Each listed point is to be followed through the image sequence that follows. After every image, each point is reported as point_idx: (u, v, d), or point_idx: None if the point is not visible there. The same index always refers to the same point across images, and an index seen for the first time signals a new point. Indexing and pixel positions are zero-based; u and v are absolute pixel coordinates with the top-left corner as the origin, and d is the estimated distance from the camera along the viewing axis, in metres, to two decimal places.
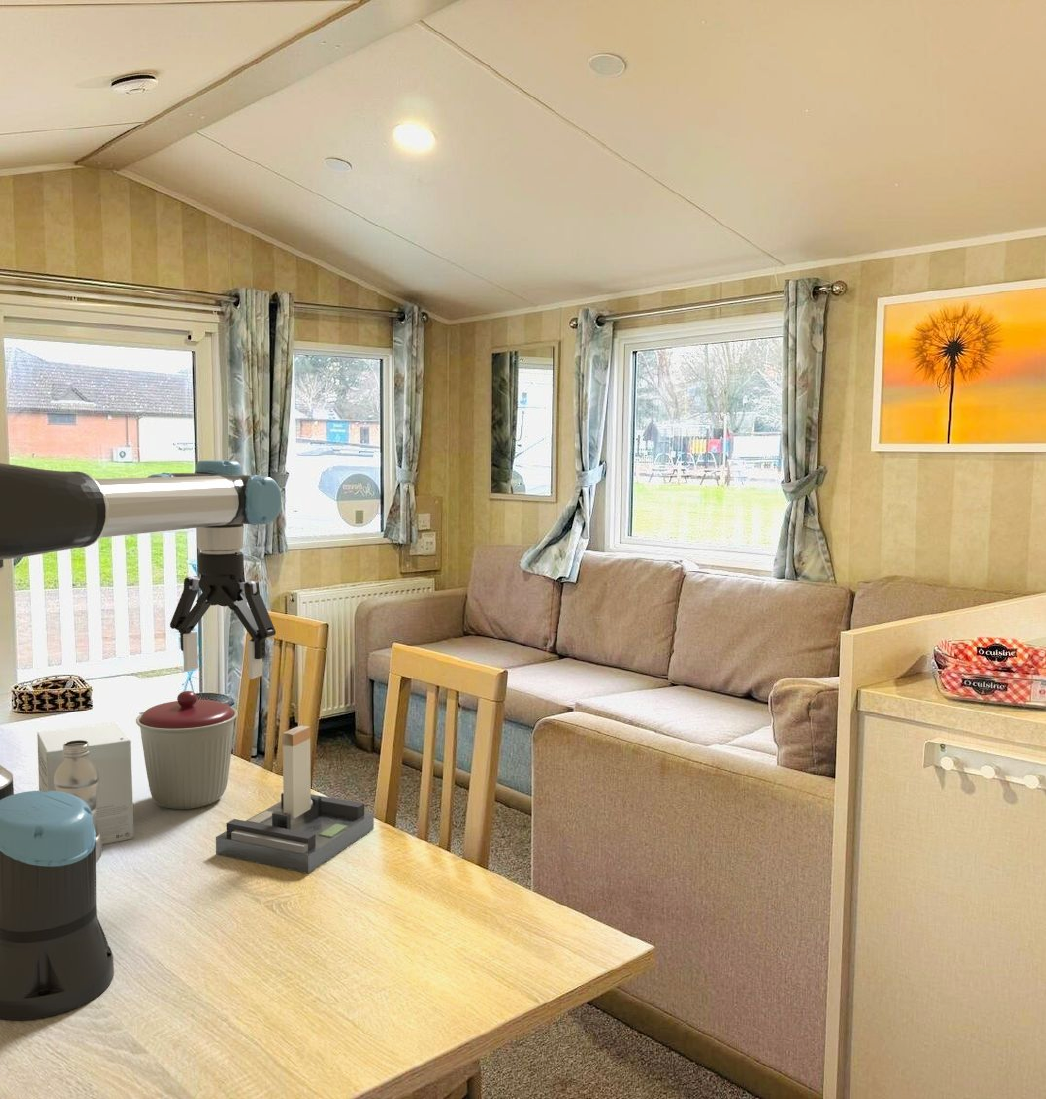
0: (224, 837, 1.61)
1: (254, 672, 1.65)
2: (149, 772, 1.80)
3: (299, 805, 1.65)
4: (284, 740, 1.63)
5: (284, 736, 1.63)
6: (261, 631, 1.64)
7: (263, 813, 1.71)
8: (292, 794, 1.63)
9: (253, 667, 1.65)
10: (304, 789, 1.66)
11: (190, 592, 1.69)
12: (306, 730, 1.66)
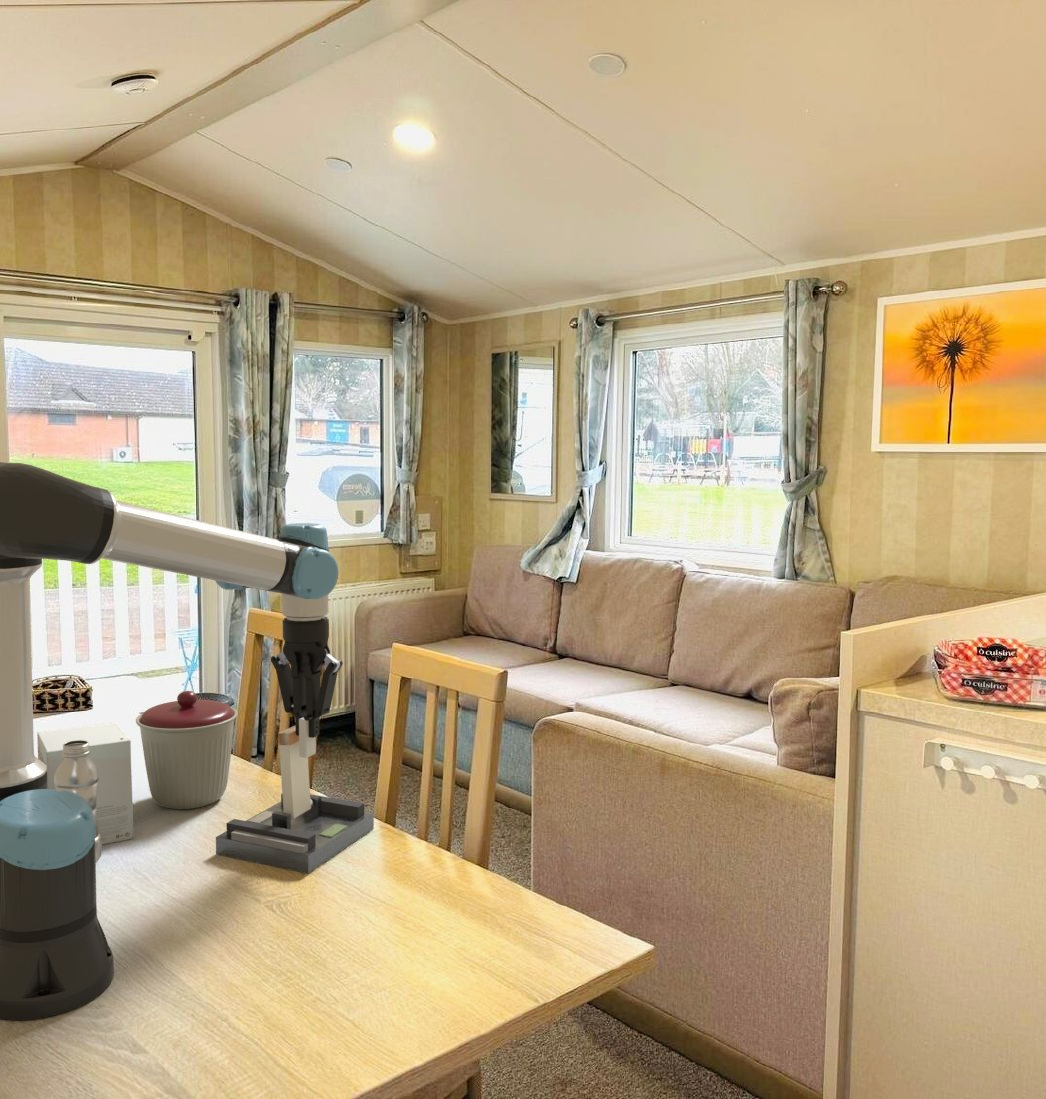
0: (224, 837, 1.61)
1: (308, 750, 1.64)
2: (149, 772, 1.80)
3: (298, 804, 1.65)
4: (280, 740, 1.63)
5: (280, 736, 1.63)
6: (317, 709, 1.62)
7: (263, 813, 1.71)
8: (291, 794, 1.64)
9: (307, 746, 1.63)
10: (303, 789, 1.66)
11: (282, 667, 1.64)
12: None
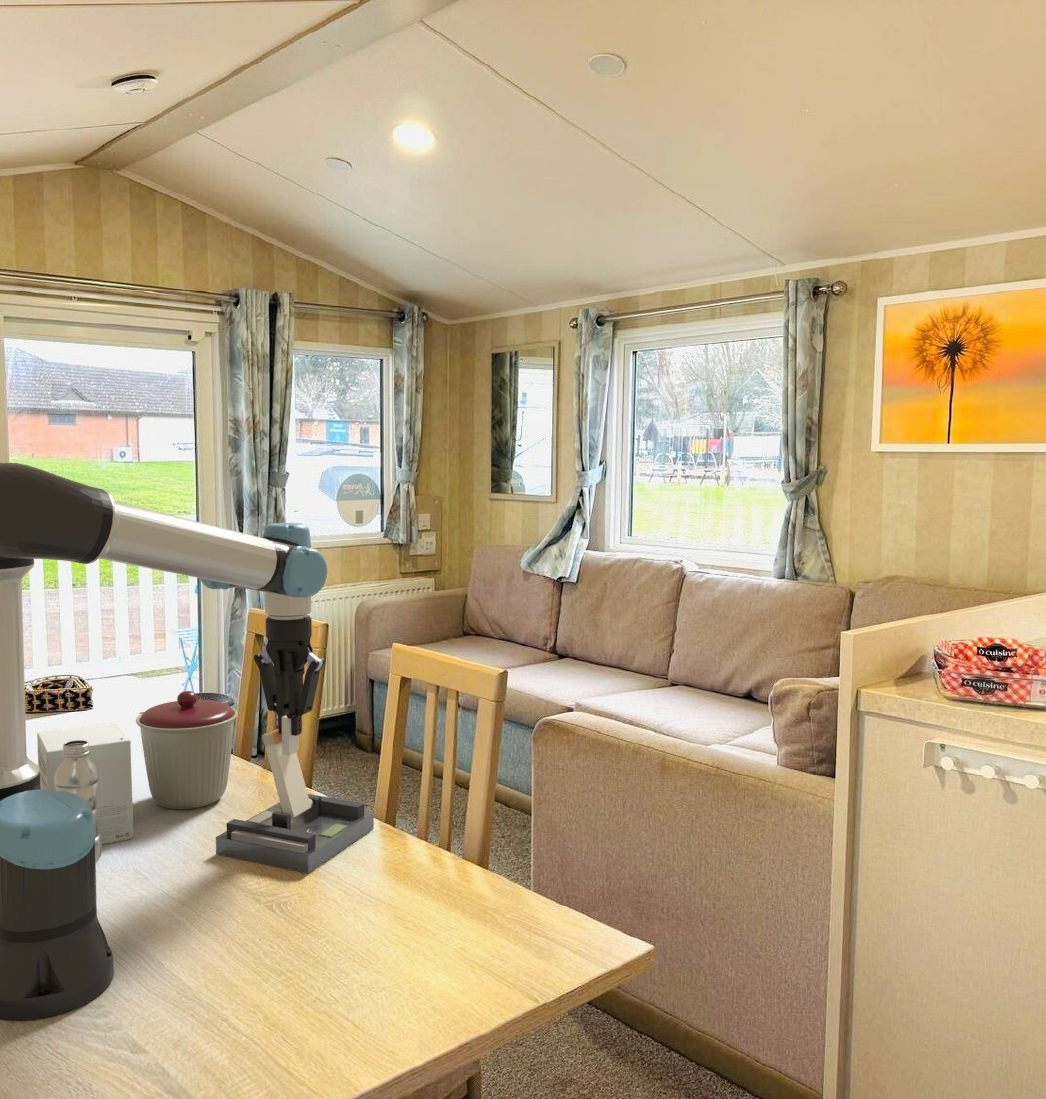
0: (224, 837, 1.61)
1: (291, 748, 1.65)
2: (149, 772, 1.80)
3: (297, 803, 1.65)
4: (265, 742, 1.65)
5: (264, 738, 1.65)
6: (300, 707, 1.63)
7: (263, 813, 1.71)
8: (286, 793, 1.64)
9: (290, 744, 1.64)
10: (299, 787, 1.67)
11: (265, 666, 1.65)
12: None
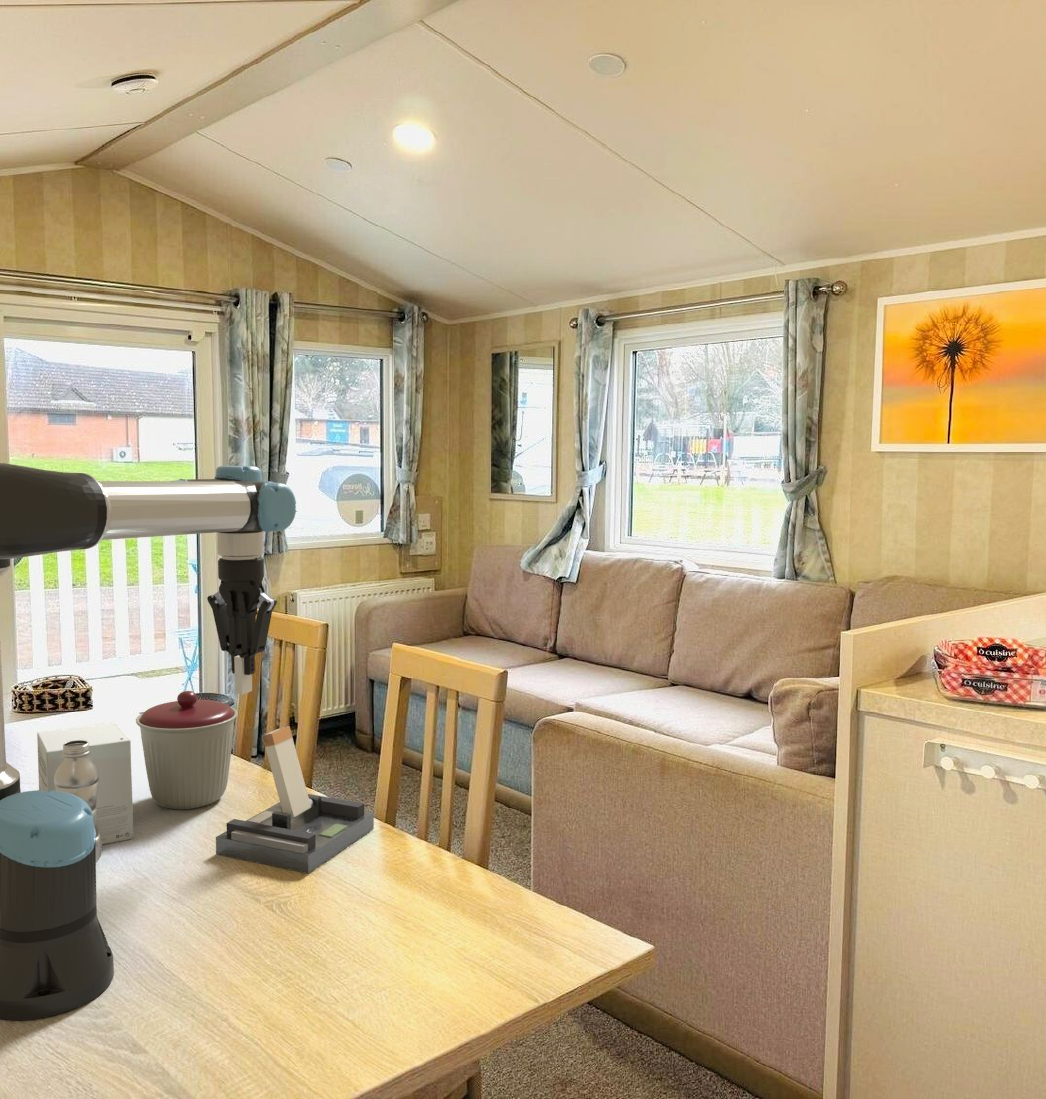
0: (224, 837, 1.61)
1: (244, 688, 1.68)
2: (149, 772, 1.80)
3: (297, 803, 1.65)
4: (265, 742, 1.65)
5: (264, 738, 1.65)
6: (252, 646, 1.66)
7: (263, 813, 1.71)
8: (286, 793, 1.64)
9: (243, 683, 1.67)
10: (299, 787, 1.67)
11: (218, 607, 1.68)
12: (286, 729, 1.68)
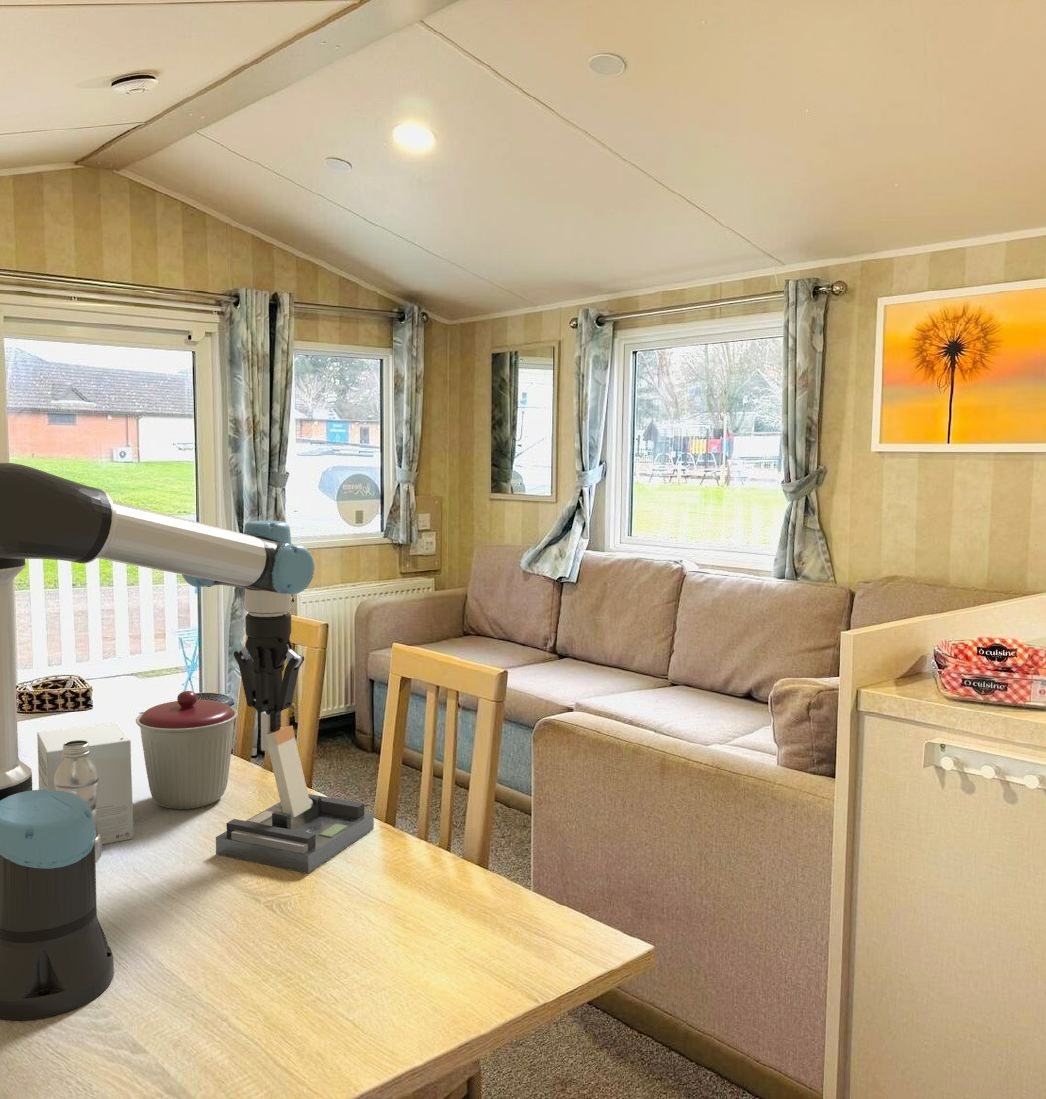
0: (224, 837, 1.61)
1: None
2: (149, 772, 1.80)
3: (297, 803, 1.65)
4: (268, 741, 1.64)
5: (267, 737, 1.64)
6: (279, 703, 1.64)
7: (263, 813, 1.71)
8: (287, 793, 1.64)
9: None
10: (299, 787, 1.67)
11: (245, 662, 1.67)
12: (289, 729, 1.67)
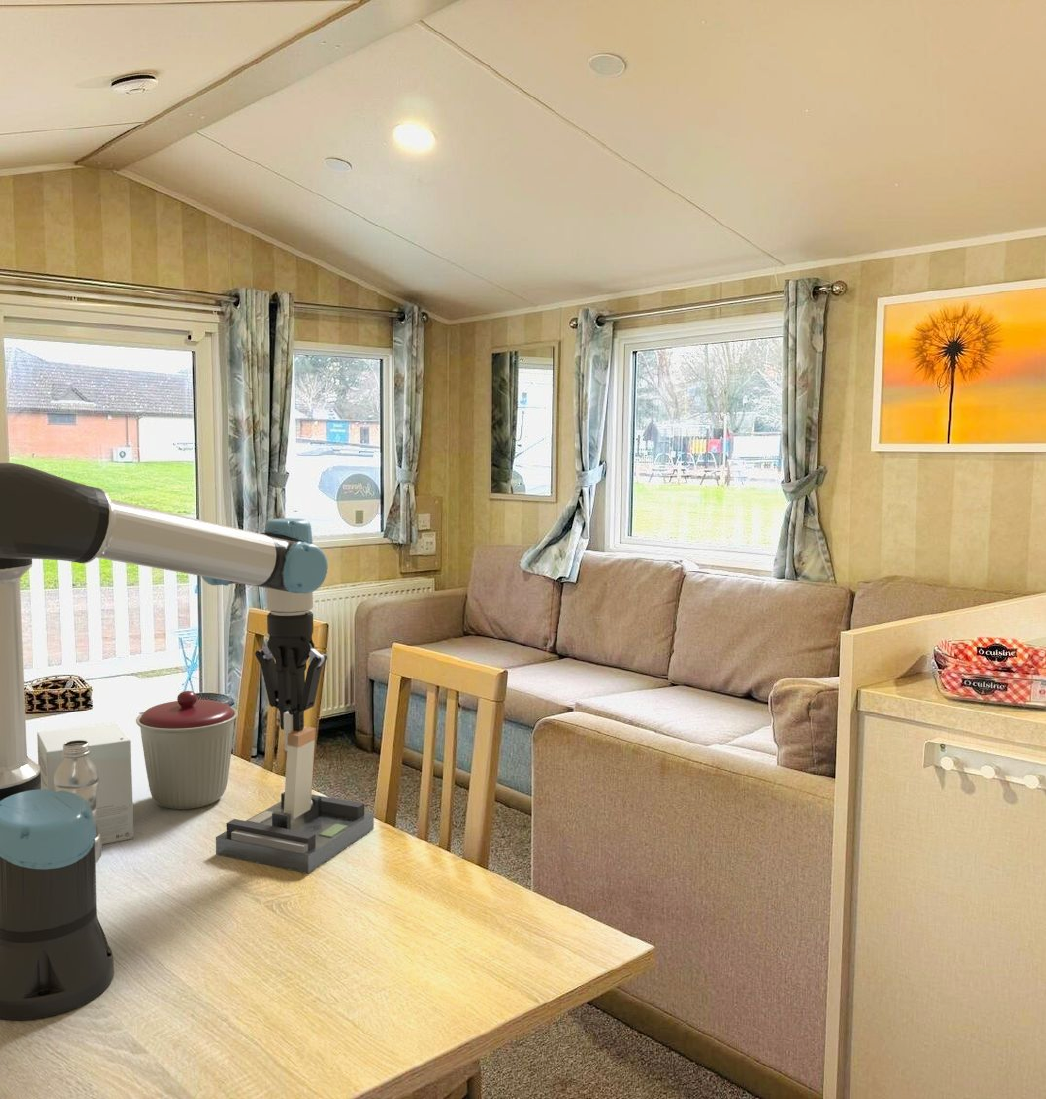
0: (224, 837, 1.61)
1: None
2: (149, 772, 1.80)
3: (299, 805, 1.65)
4: (289, 741, 1.63)
5: (289, 737, 1.63)
6: (302, 703, 1.63)
7: (263, 813, 1.71)
8: (293, 795, 1.63)
9: None
10: (305, 790, 1.66)
11: (267, 662, 1.65)
12: (312, 732, 1.66)
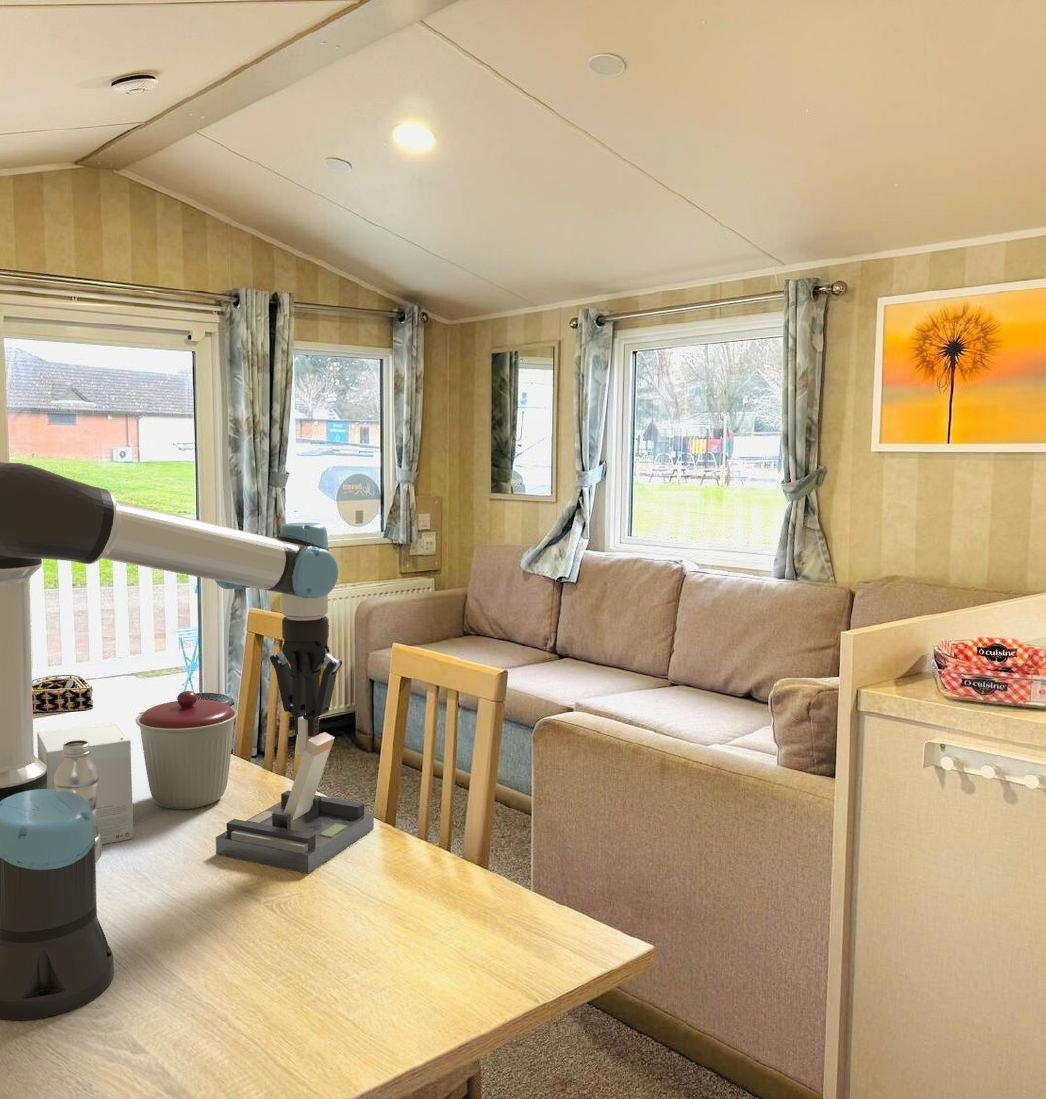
0: (224, 837, 1.61)
1: None
2: (149, 772, 1.80)
3: (301, 808, 1.65)
4: (307, 747, 1.61)
5: (308, 744, 1.61)
6: (317, 708, 1.62)
7: (263, 813, 1.71)
8: (298, 798, 1.63)
9: None
10: (310, 793, 1.66)
11: (281, 666, 1.64)
12: (330, 741, 1.64)
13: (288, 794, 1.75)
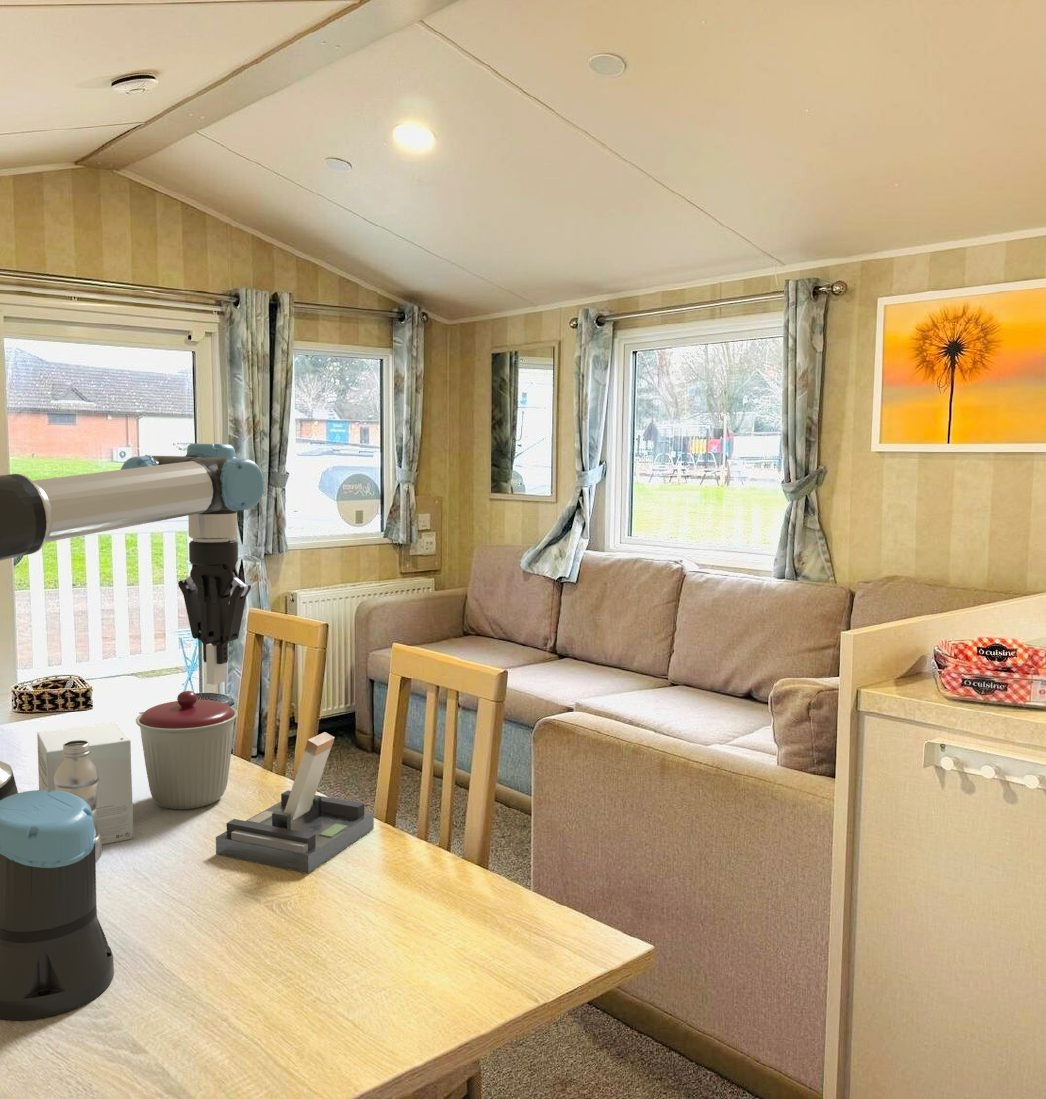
0: (224, 837, 1.61)
1: (216, 677, 1.59)
2: (149, 772, 1.80)
3: (301, 808, 1.65)
4: (307, 747, 1.61)
5: (308, 744, 1.61)
6: (225, 634, 1.57)
7: (263, 813, 1.71)
8: (298, 798, 1.63)
9: (215, 672, 1.59)
10: (310, 793, 1.66)
11: (190, 592, 1.60)
12: (330, 741, 1.64)
13: (288, 794, 1.75)
